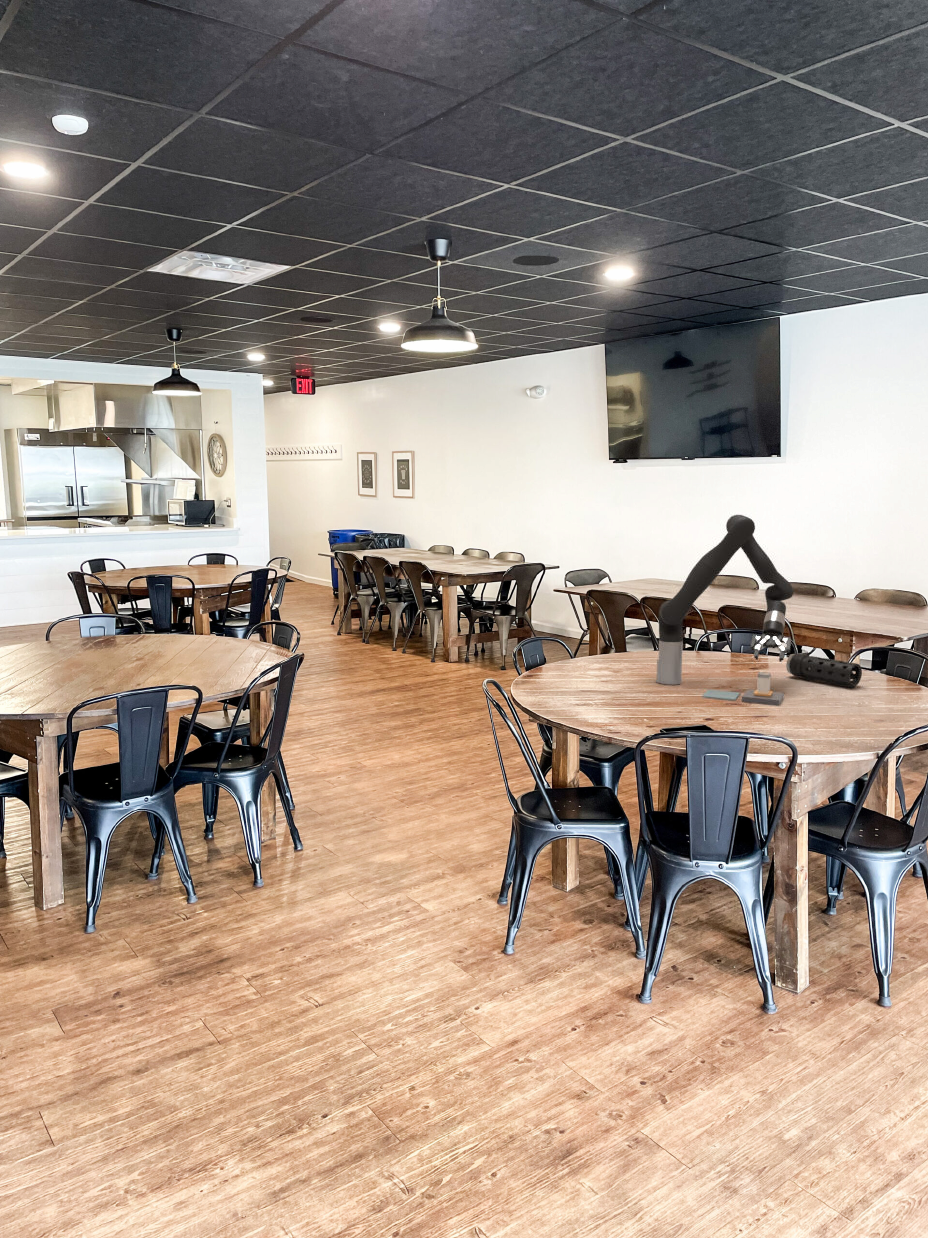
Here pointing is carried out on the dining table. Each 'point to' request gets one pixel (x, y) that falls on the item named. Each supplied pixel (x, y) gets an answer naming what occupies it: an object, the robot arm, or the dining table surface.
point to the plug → (763, 685)
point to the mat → (721, 695)
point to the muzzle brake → (824, 670)
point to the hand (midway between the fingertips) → (768, 659)
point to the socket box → (763, 698)
